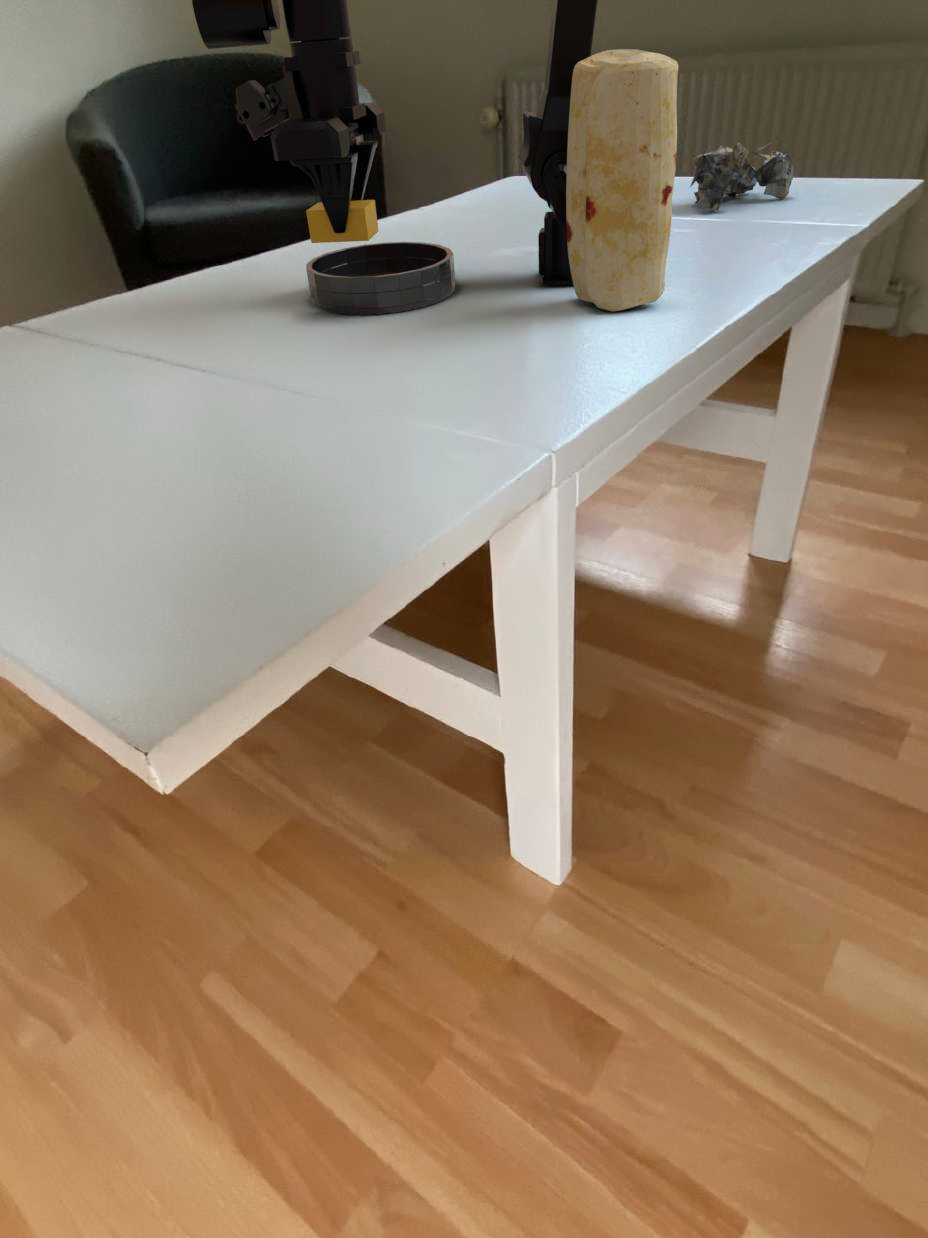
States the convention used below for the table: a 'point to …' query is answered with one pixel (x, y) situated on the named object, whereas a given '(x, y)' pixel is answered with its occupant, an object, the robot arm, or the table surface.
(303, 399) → the table surface
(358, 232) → the sponge
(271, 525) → the table surface
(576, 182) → the food model
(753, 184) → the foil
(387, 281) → the pan
